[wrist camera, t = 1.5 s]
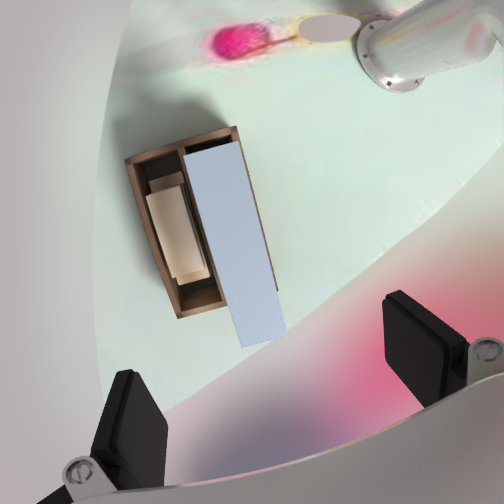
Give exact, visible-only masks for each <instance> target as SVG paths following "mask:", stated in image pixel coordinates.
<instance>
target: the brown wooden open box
mask: <svg viewBox="0 0 504 504" xmlns="http://www.w3.org/2000/svg"><path fill="white" fill-rule="evenodd" d="M225 138H229V142H230V143H232V142H236V141H238V142H239V145H240V149H241V153H242V157H243V161H244V164H245V168H246V172H247V176H248V180H249V184H250V187H251V191H252V195H253V199H254V203H255V207H256V211H257V215H258V218H259V222H260V226H261V230H262V234H263V238H264V242H265V246H266V250H267V254H268V258H269V262H270V266H271V270H272V274H273V278H274V282H275V286H276V290H277V291H278V287H277V283H276V279H275V275H274V271H273V267H272V263H271V259H270V255H269V251H268V247H267V243H266V239H265V235H264V231H263V227H262V223H261V219H260V215H259V211H258V207H257V203H256V199H255V195H254V191H253V188H252V184H251V180H250V176H249V172H248V168H247V165H246V161H245V157H244V153H243V149H242V145H241V142H240V138H239V134H238V130H237V127H236V126H232V127H228V128H224V129H221V130H217V131H213V132H209V133H206V134H202V135H199V136H195V137H192V138H188V139H185V140H181V141H178V142H175V143H172V144H168V145H165V146H162V147H159V148H156V149H153V150H150V151H147V152H144V153H141V154H138V155H135V156H132V157H130V158H127V159H124V161H125V164H126V168H127V172H128V175H129V179H130V182H131V186H132V189H133V192H134V196H135V199H136V202H137V206H138V209H139V212H140V215H141V218H142V221H143V225H144V228H145V231H146V234H147V237H148V240H149V243H150V246H151V249H152V252H153V254H154V257H155V260H156V263H157V266H158V269H159V271H160V274H161V277H162V280H163V282H164V285H165V288H166V290H167V293H168V296H169V298H170V301H171V304H172V306H173V309H174V311H175V314H176V316H177V319H179V318H183V317H187V316H191V315H195V314H198V313H202V312H206V311H209V310H213V309H217V308H220V307H224V306H228V305H227V302H226V298H225V295H224V292H223V289H222V286H221V283H220V280H219V276H218V273H217V270H216V267H215V264H214V260H213V257H212V254H211V250H210V247H209V244H208V241H207V237H206V234H205V231H204V227H203V224H202V220H201V217H200V214H199V210H198V207H197V203H196V200H195V196H194V193H193V189H192V186H191V182H190V179H189V175H188V172H187V168H186V164H185V161H184V157H183V156H185V155H189V151H188V149H189V148H193V147H196V146H200V145H203V144H207V143H211V142H214V141H218V140H222V139H225ZM176 152H178V154H179V157H180V161H181V165H182V168H183V172H184V175H185V179H186V182H187V186H188V189H189V193H190V196H191V200H192V203H193V207H194V210H195V214H196V217H197V220H198V224H199V227H200V230H201V234H202V237H203V240H204V244H205V247H206V250H207V253H208V257H209V260H210V263H211V266H212V269H213V273H214V276H215V279H216V282H217V285H213V286H210V287H206V288H203V289H199V290H195V291H192V292H188V293H184V291H183V288H182V285H178V282H177V279H176V277H174V278H172V276H171V273H170V270H169V267H168V264H167V261H166V258H165V255H164V253H163V250H162V247H161V244H160V241H159V238H158V234H157V231H156V228H155V225H154V222H153V219H152V216H151V212H150V209H149V206H148V203H147V199H146V196H147V195H149V194H151V190H150V187H149V183H148V180H147V176H146V173H145V169H144V166H143V163H145V162H148V161H151V160H154V159H157V158H160V157H163V156H166V155H170V154H173V153H176Z"/></svg>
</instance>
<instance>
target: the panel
mask: <svg viewBox="0 0 504 504" xmlns="http://www.w3.org/2000/svg"><path fill="white" fill-rule="evenodd" d="M183 157H184V161H185V164H186V168H187V172H188V175H189V179H190V182H191V186H192V189H193V193H194V196H195V200H196V203H197V207H198V210H199V214H200V217H201V220H202V224H203V227H204V231H205V234H206V237H207V241H208V244H209V247H210V250H211V254H212V257H213V260H214V264H215V267H216V270H217V273H218V276H219V280H220V283H221V286H222V289H223V292H224V295H225V298H226V302H227V305H228V308H229V311H230V314H231V317H232V320H233V323H234V326H235V329H236V332H237V335H238V338H239V341H240V344H241V347H242V348H244V347H247V346H251V345H255V344H258V343H262V342H265V341H269V340H272V339H275V338H279V337H282V336H285V335H287V331H286V327H285V323H284V318H283V314H282V310H281V306H280V302H279V298H278V294H277V290H276V286H275V282H274V278H273V274H272V270H271V266H270V262H269V258H268V254H267V250H266V246H265V242H264V238H263V234H262V230H261V226H260V222H259V218H258V215H257V211H256V207H255V203H254V199H253V195H252V191H251V187H250V184H249V180H248V176H247V172H246V168H245V164H244V161H243V157H242V153H241V149H240V145H239V142H238V141H236V142H232V143H228V144H224V145H221V146H217V147H213V148H210V149H206V150H202V151H199V152H196V153H192V154H189V155H185V156H183Z"/></svg>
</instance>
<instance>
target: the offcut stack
mask: <svg viewBox="0 0 504 504" xmlns="http://www.w3.org/2000/svg"><path fill="white" fill-rule="evenodd" d="M149 184H150V188H151V191H152V193H151V194H149V195H147V196H146V199H147V203H148V206H149V209H150V212H151V216H152V219H153V222H154V225H155V228H156V231H157V234H158V238H159V241H160V244H161V247H162V250H163V253H164V255H165V258H166V261H167V264H168V267H169V270H170V273H171V276H172V278H174V277H176V279H177V282H178V285H182V284H186V283H190V282H193V281H197V280H201V279H204V278H208V277H210V274H212V266H211V263H210V260H209V257H208V253H207V250H206V247H205V244H204V240H203V237H202V234H201V230H200V227H199V224H198V220H197V217H196V214H195V210H194V207H193V203H192V200H191V196H190V193H189V189H188V186H187V182H186V179H185V175H184V172H183V171H180V172H177V173H173V174H170V175H167V176H164V177H160V178H157V179H154V180H151V181H149Z"/></svg>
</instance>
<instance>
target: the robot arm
mask: <svg viewBox="0 0 504 504" xmlns="http://www.w3.org/2000/svg"><path fill="white" fill-rule="evenodd" d="M496 40H498V41H499V43H500V44H501V46H502V47H503V49H504V0H423V1H422V2H420V3H418V4H417V5H415V6H413V7H412V8H410V9H408V10H407V11H405V12H404V13H402V14H400V15H399V16H397V17H396V18H394V19H393V20H391V21H388V20H376V21H372V22H370V23H369V24H367V25H366V26H365V27H363V28H362V30H361V31H360V33H359V35H358V38H357V44H356V46H357V54H358V57H359V60H360V62H361V65H362V67H363V68H364V70H365V71H366V73H367V74H368V75H369V76H370V78H371V79H372V80H373V81H374V82H376V83H377V84H378V85H379V86H381V87H383V88H384V89H386V90H389V91H391V92H395V93H406V92H410V91H413V90H415V89H417V88H418V87H419V86H420V85H421V84H422V82H423V80H424V78H425V77H426V76H430V75H433V74H437V73H440V72H444V71H448V70H451V69H455V68H459V67H463V66H467V65H471V64H475V63H478V62H481V61H483V60H484V59H486V58H487V57H488V56H489V55H490V53H491V52H492V50H493V48H494V46H495V43H496ZM382 309H383V324H384V345H385V359H386V361H387V363H388V365H389V366H390V367H391V368H392V370H393V371H394V372H395V373H396V374H397V375H398V377H399V378H400V379H401V380H402V381H403V383H404V384H405V385H406V386H407V387H408V389H409V390H410V391H411V392H412V393H413V395H414V396H415V397H416V398H417V400H418V401H419V402H420V403H421V404H422V405H423V407H424V409H422V410H420V411H418V412H416V413H415V414H412V415H410V416H408V417H406V418H404V419H402V420H400V421H398V422H396V423H393V424H392V425H389V426H387V427H385V428H382V429H380V430H378V431H375V432H373V433H371V434H368V435H366V436H364V437H361V438H358V439H356V440H353V441H351V442H348V443H345V444H343V445H340V446H338V447H335V448H332V449H329V450H326V451H323V452H320V453H317V454H314V455H311V456H308V457H304V458H301V459H298V460H295V461H291V462H288V463H284V464H280V465H277V466H273V467H269V468H265V469H261V470H257V471H252V472H248V473H244V474H239V475H234V476H229V477H224V478H219V479H213V480H207V481H201V482H194V483H186V484H179V485H171V486H164V475H165V461H166V448H167V437H168V424H167V422H166V419H165V418H164V416H163V414H162V413H161V411H160V409H159V408H158V406H157V404H156V403H155V401H154V399H153V398H152V396H151V394H150V392H149V391H148V389H147V387H146V385H145V383H144V382H143V380H142V378H141V376H140V374H139V373H138V372H134V371H133V370H132V369H128V370H123V371H118V372H117V373H116V375H115V378H114V381H113V384H112V387H111V389H110V392H109V395H108V398H107V401H106V404H105V407H104V410H103V413H102V416H101V419H100V422H99V425H98V428H97V431H96V434H95V438H94V441H93V444H92V447H91V454H90V457H89V456H81V457H77V458H75V459H73V460H72V461H70V462H69V463H68V464H67V465H66V466H65V468H64V471H63V473H62V478H63V482H64V485H63V486H62V487H60V488H59V489H57V490H56V491H54V492H53V493H51V494H50V495H49V496H47V497H46V498H44V499H43V500H42V501H40V502H38V503H37V504H504V343H503V342H502V341H500V340H498V339H496V338H490V337H484V338H480V339H477V340H475V341H474V342H472V343H471V344H470V343H468V342H467V341H466V339H465V338H464V337H463V336H462V335H460V334H459V333H458V332H456V331H455V330H454V329H453V328H451V327H450V326H449V325H447V324H446V323H445V322H443V321H442V320H441V319H439V318H438V317H437V316H435V315H434V314H433V313H431V312H430V311H429V310H427V309H426V308H424V307H423V306H422V305H421V304H419V303H418V302H416V301H415V300H414V299H412V298H411V297H410V296H408V295H407V294H405V293H404V292H403V291H401V290H397V291H395V292H392V293H390V294H387V295H386V297H385V299H384V300H383V301H382Z"/></svg>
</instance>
